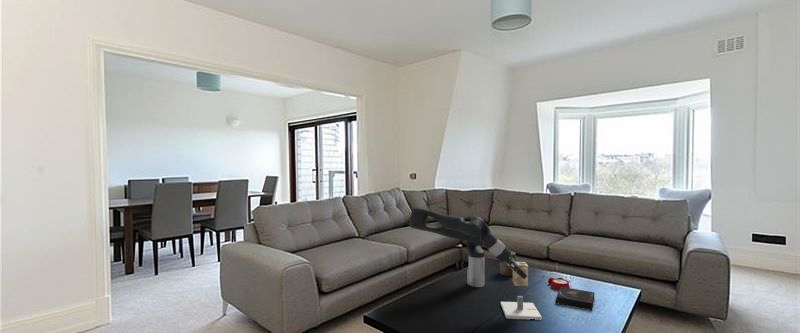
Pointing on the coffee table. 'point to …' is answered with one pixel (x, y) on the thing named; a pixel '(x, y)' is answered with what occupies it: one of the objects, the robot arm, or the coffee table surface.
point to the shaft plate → (520, 310)
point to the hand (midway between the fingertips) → (523, 275)
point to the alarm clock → (558, 283)
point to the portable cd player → (575, 298)
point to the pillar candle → (505, 268)
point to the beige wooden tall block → (517, 278)
